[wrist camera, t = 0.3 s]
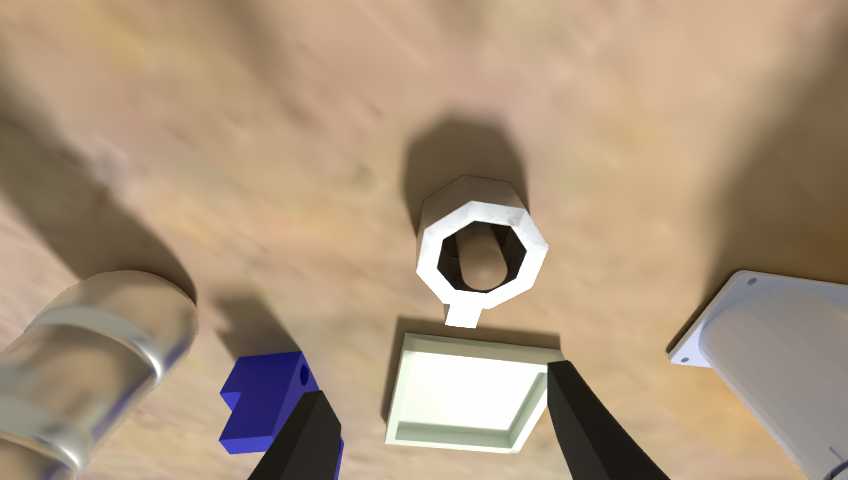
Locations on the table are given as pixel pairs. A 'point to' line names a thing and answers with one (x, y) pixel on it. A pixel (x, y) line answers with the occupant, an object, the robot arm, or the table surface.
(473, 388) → the tray
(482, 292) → the grey octagonal ring
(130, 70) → the table surface
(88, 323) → the plastic bottle
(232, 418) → the cable clip
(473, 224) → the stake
